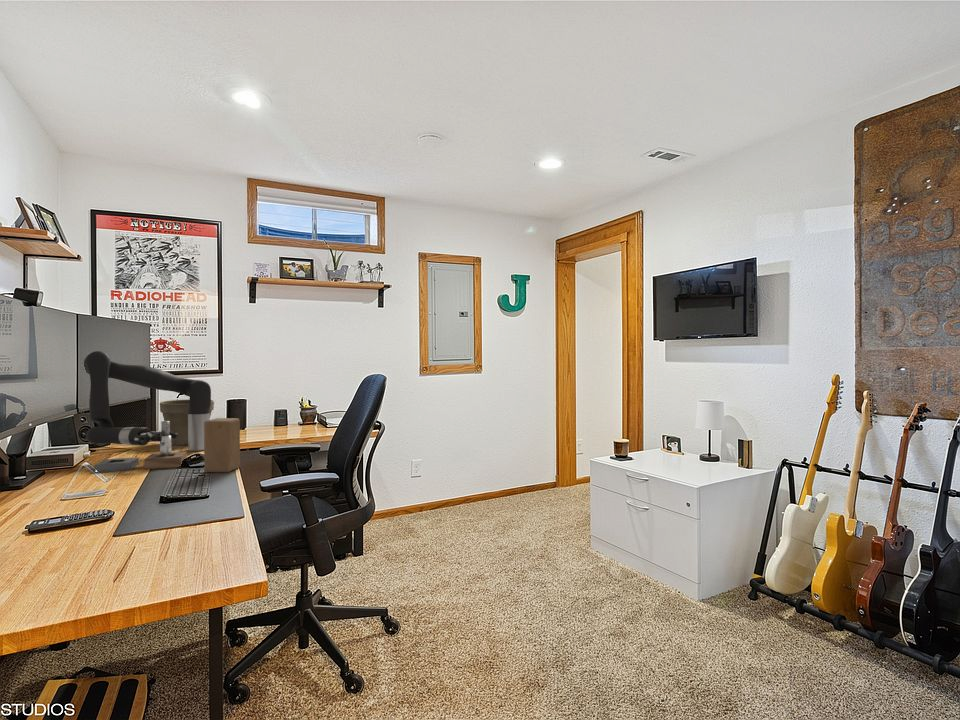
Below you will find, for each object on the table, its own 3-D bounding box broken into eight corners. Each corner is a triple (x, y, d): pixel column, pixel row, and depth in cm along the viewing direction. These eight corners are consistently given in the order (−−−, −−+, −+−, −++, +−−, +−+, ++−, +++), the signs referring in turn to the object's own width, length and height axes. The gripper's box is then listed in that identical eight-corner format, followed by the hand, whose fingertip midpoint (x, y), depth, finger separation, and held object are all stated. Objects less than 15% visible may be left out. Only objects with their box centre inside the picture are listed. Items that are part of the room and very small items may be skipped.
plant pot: (208, 445, 271) (208, 402, 271) (153, 448, 265) (152, 403, 265) (218, 438, 295) (218, 398, 295) (168, 440, 289) (167, 399, 289)
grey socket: (104, 466, 220) (104, 459, 220) (138, 464, 224) (138, 457, 224) (94, 472, 209) (94, 464, 209) (130, 470, 213) (130, 462, 213)
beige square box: (151, 463, 227) (151, 453, 227) (186, 461, 231) (186, 451, 231) (144, 469, 215) (144, 459, 215) (181, 466, 219) (181, 457, 219)
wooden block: (229, 472, 208) (228, 420, 208) (203, 472, 208) (202, 420, 208) (241, 467, 218) (240, 417, 218) (216, 467, 218) (216, 417, 218)
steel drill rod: (161, 464, 224) (161, 421, 224) (172, 463, 226) (172, 420, 225) (159, 466, 221) (158, 422, 220) (170, 465, 222) (170, 421, 222)
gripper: (120, 429, 219) (155, 430, 216) (148, 425, 233) (181, 425, 230) (120, 448, 219) (155, 449, 216) (148, 442, 233) (181, 443, 230)
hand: (169, 437), depth 223 cm, fingers open, 8 cm apart
